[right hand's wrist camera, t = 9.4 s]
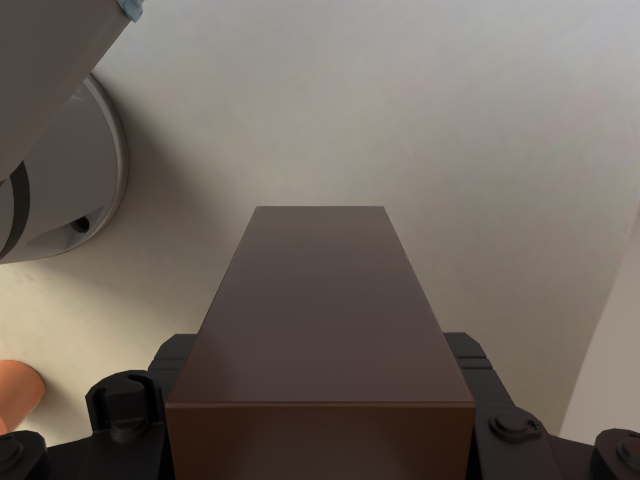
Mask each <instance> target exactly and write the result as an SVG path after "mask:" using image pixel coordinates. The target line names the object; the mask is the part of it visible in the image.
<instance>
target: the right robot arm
mask: <svg viewBox="0 0 640 480" xmlns="http://www.w3.org/2000/svg"><path fill="white" fill-rule="evenodd" d="M143 1H144V0H0V264H7V263H14V262H21V261H28V260H35V259H41V258H48V257H52V256H56V255H59V254H62V253H65V252H67V251H70V250H72V249H74V248H76V247H77V246H79V245H80V244H82V243H84V242H85V241H86V240H88V239H89V238H91V237H92V236H93V235H95V234H96V233H97V232H98V231H100V230H101V229H102V228H103V227H104V226H105V225H106V224H107V223H108V222H109V221H110V219H111V218H112V217H113V215H114V214H115V212H116V211H117V209H118V207H119V205H120V203H121V201H122V199H123V196H124V193H125V189H126V185H127V180H128V171H129V158H128V148H127V143H126V138H125V134H124V131H123V128H122V125H121V122H120V120H119V117H118V115H117V113H116V111H115V109H114V107H113V105H112V103H111V101H110V100H109V98H108V96H107V95H106V93H105V92H104V91H103V89H102V88H101V86H100V85H99V84H98V83H97V81H96V80H95V79H94V78H93V77H92V76H91V75H90V72H91V71H92V69H93V68H94V67H95V66H96V64H97V63H98V62H99V60H100V59H101V58H102V57H103V55H104V54H105V53H106V52H107V50H108V49H109V48H110V46H111V45H112V44H113V43H114V41H115V40H116V39H117V38H118V36H119V35H120V34H121V32H122V31H123V30H124V29H125V27H126V26H127V25H128V24H129V22H130V21H133V22H134V23H136V22H137V20H138V19H139V18H140V16H141V14H142V12H143V11H142V3H143ZM443 335H444V337H445V339H446V341H447V343H448V345H449V347H450V350H451V352H452V354H453V356H454V358H455V360H456V362H457V364H458V367H459V369H460V371H461V373H462V375H463V377H464V379H465V382H466V384H467V386H468V388H469V390H470V392H471V394H472V397H473V399H474V401H475V403H476V411H475V417H474V424H473V431H472V437H471V444H470V451H469V458H468V464H467V471H466V478H465V480H640V433H637V432H634V431H631V430H625V429H616V428H614V429H609V430H604V431H602V432H601V433H600V434H599V435H598V436H597V437H596V441H595V444H594V446H592V445H588V444H584V443H579V442H575V441H571V440H566V439H562V438H559V437H556V436H553V435H550V434H548V433H547V431H546V429H545V428H544V426H543V424H542V423H541V422H540V421H539V420H538V419H537V418H536V417H534V416H533V415H532V414H531V413H529V412H527V411H525V410H523V409H521V408H519V407H516V406H515V404H514V403H513V401H512V399H511V398H510V396H509V394H508V392H507V391H506V389H505V387H504V386H503V384H502V382H501V380H500V379H499V377H498V375H497V374H496V372H495V370H493V367H492V365H491V363H490V362H489V360H488V359H487V358H486V355H485V353H484V351H483V350H482V348H481V346H480V344H479V343H478V342H476V341H475V340H474V339H472V338H471V337H470V336H469V335H467V334H466V333H443ZM196 336H197V334H175V335H174V336H172V337H171V338H170V339H169V340H167V341H166V342H165V343H163V344H162V345H161V347H160V348H159V350H158V352H157V354H156V355H155V357H154V360H152V362H151V364H150V366H149V367H148V371H145V370H128V371H124V372H119V373H115V374H113V375H111V376H109V377H106V378H104V379H102V380H101V381H99V382H98V383H97V384H95V385H94V386H93V387H91V389H90V390H89V392H88V393H87V394H86V396H85V399H86V404H87V408H88V413H89V417H90V422H91V426H92V431H93V434H92V436H90V437H87V438H84V439H80V440H77V441H73V442H69V443H64V444H60V445H56V446H52V447H46V443H45V439H44V438H43V437H42V436H41V435H40V434H39V433H38V432H33V431H28V430H23V431H14V432H9V433H6V434H3V435H0V480H176V479H175V472H174V465H173V458H172V452H171V445H170V438H169V431H168V425H167V418H166V411H165V403H166V401H167V399H168V396H169V394H170V392H171V390H172V388H173V386H174V383H175V381H176V379H177V377H178V375H179V373H180V371H181V368H182V366H183V364H184V362H185V360H186V358H187V355H188V353H189V351H190V349H191V347H192V345H193V343H194V340H195V338H196Z"/></svg>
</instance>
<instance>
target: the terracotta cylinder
mask: <svg viewBox="0 0 640 480" xmlns="http://www.w3.org/2000/svg"><path fill="white" fill-rule="evenodd" d="M44 393H45V386H44V383H43V380H42V378H41V377H40V375H39V374H38V373H37V372H36V371H35V370H34V369H32V368H31V367H30V366H28V365H26V364H24V363H21V362H18V361H13V360H3V361H0V435H3V434H6V433H9V432H14V431H16V430H17V428H18V427H19V426H20V425H21V424H22V423H23V421H24V420H25V419H26V418H27V417H28V416H29V414H30V413H31V412H32V411H33V410H34V408H35V407H36V406H37V405H38V404H39V403H40V401H41V400H42V399H43V397H44Z"/></svg>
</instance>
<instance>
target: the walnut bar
mask: <svg viewBox="0 0 640 480" xmlns="http://www.w3.org/2000/svg"><path fill="white" fill-rule="evenodd" d="M165 411H166V418H167V425H168V431H169V438H170V445H171V452H172V458H173V465H174V472H175V479H176V480H465V478H466V471H467V464H468V458H469V451H470V444H471V437H472V431H473V424H474V417H475V411H476V403H475V401H474V399H473V397H472V394H471V392H470V390H469V388H468V386H467V384H466V382H465V379H464V377H463V375H462V373H461V371H460V369H459V367H458V364H457V362H456V360H455V358H454V356H453V354H452V352H451V350H450V347H449V345H448V343H447V341H446V339H445V337H444V335H443V332H442V330H441V328H440V326H439V324H438V322H437V320H436V318H435V315H434V313H433V311H432V309H431V307H430V305H429V303H428V300H427V298H426V296H425V294H424V292H423V290H422V288H421V285H420V283H419V281H418V279H417V277H416V275H415V273H414V271H413V268H412V266H411V264H410V262H409V260H408V258H407V256H406V253H405V251H404V249H403V247H402V245H401V243H400V241H399V239H398V236H397V234H396V232H395V230H394V228H393V226H392V224H391V221H390V219H389V217H388V215H387V213H386V211H385V209H384V207H383V206H258V207H256V209H255V211H254V213H253V215H252V217H251V220H250V222H249V224H248V226H247V228H246V230H245V233H244V235H243V237H242V239H241V241H240V243H239V246H238V248H237V250H236V252H235V254H234V256H233V258H232V261H231V263H230V265H229V267H228V269H227V271H226V274H225V276H224V278H223V280H222V282H221V284H220V286H219V289H218V291H217V293H216V295H215V297H214V299H213V302H212V304H211V306H210V308H209V310H208V312H207V315H206V317H205V319H204V321H203V323H202V325H201V327H200V330H199V332H198V334H197V336H196V338H195V340H194V343H193V345H192V347H191V349H190V351H189V353H188V355H187V358H186V360H185V362H184V364H183V366H182V368H181V371H180V373H179V375H178V377H177V379H176V381H175V383H174V386H173V388H172V390H171V392H170V394H169V396H168V399H167V401H166V403H165Z"/></svg>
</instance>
